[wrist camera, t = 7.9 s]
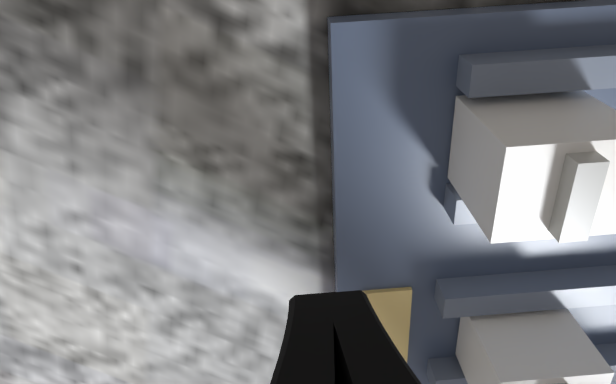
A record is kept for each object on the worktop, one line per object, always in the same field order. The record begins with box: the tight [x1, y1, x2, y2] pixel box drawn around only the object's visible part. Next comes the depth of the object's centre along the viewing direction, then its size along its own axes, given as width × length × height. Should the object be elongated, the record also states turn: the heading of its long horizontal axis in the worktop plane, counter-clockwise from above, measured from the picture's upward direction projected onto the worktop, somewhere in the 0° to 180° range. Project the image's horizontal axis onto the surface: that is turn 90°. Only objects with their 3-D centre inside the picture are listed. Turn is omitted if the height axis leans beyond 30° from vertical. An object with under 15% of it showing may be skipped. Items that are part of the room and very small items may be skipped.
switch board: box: [327, 0, 616, 384], centre depth 19 cm, size 18×22×2 cm
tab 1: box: [448, 90, 616, 244], centre depth 15 cm, size 3×4×5 cm
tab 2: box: [455, 309, 614, 384], centre depth 19 cm, size 3×4×5 cm
